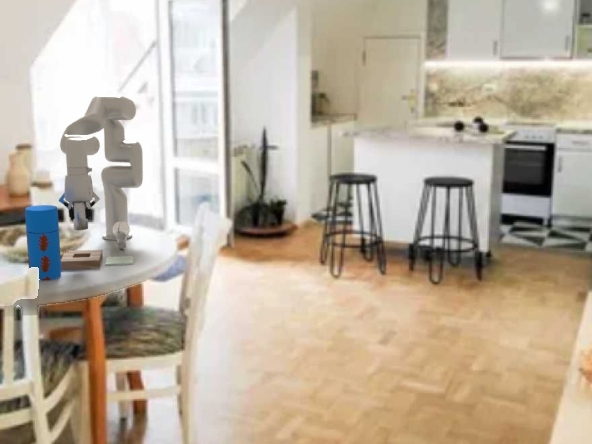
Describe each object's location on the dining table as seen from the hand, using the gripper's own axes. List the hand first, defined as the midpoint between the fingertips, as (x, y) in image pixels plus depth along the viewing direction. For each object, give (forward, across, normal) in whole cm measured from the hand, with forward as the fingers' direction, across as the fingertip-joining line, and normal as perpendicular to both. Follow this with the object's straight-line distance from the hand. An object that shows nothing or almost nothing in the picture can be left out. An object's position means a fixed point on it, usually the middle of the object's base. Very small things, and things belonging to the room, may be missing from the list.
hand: (80, 218), depth 276 cm
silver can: (+4, 0, 0) cm, 4 cm away
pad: (+17, -14, +1) cm, 22 cm away
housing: (+17, 0, +1) cm, 17 cm away
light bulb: (+18, -14, -18) cm, 29 cm away
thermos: (+17, +11, +18) cm, 27 cm away
